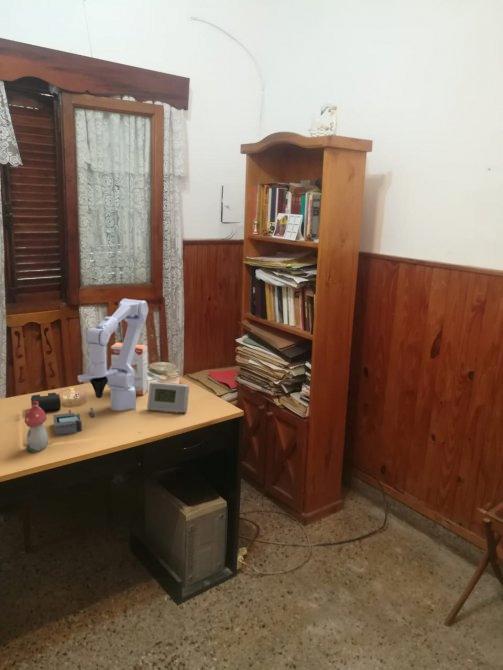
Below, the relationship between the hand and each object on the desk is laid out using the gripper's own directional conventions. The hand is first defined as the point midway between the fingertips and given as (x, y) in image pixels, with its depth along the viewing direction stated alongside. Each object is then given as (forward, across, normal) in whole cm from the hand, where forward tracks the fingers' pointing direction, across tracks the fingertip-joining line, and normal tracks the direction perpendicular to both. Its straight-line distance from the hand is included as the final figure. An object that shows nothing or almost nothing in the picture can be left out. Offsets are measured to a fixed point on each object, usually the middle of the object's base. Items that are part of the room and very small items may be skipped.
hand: (98, 397), depth 189 cm
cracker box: (+10, -24, -22) cm, 34 cm away
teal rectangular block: (+10, +12, 0) cm, 16 cm away
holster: (+10, +4, -8) cm, 13 cm away
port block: (+10, +13, 0) cm, 16 cm away
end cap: (+10, +12, -21) cm, 26 cm away
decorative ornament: (+10, +25, +6) cm, 28 cm away
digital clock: (+10, -27, +4) cm, 29 cm away
